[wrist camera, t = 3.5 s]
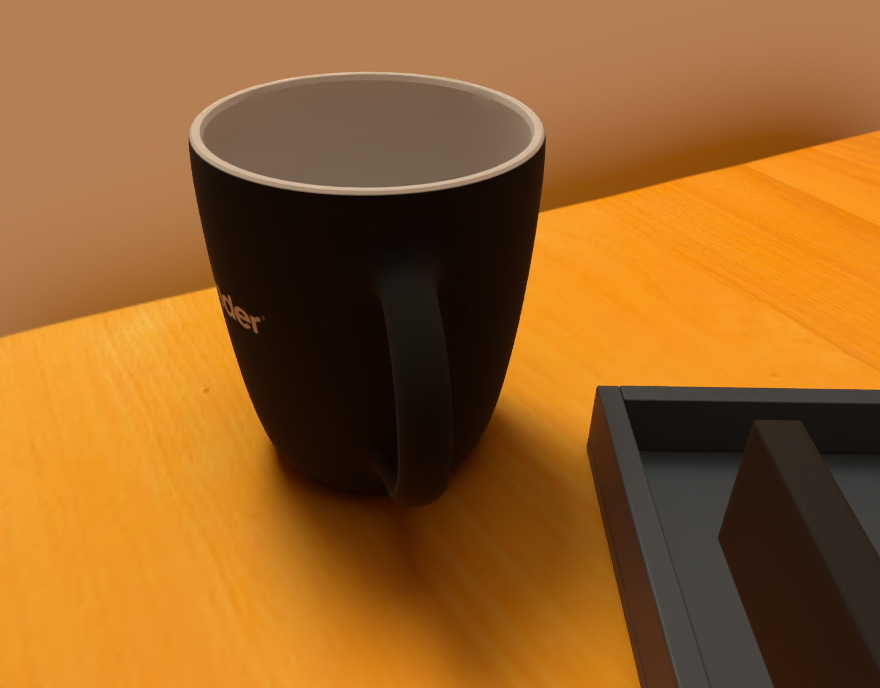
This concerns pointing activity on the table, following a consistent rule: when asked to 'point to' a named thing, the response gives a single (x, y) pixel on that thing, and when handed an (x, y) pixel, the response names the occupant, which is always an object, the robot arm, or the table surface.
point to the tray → (706, 512)
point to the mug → (371, 265)
